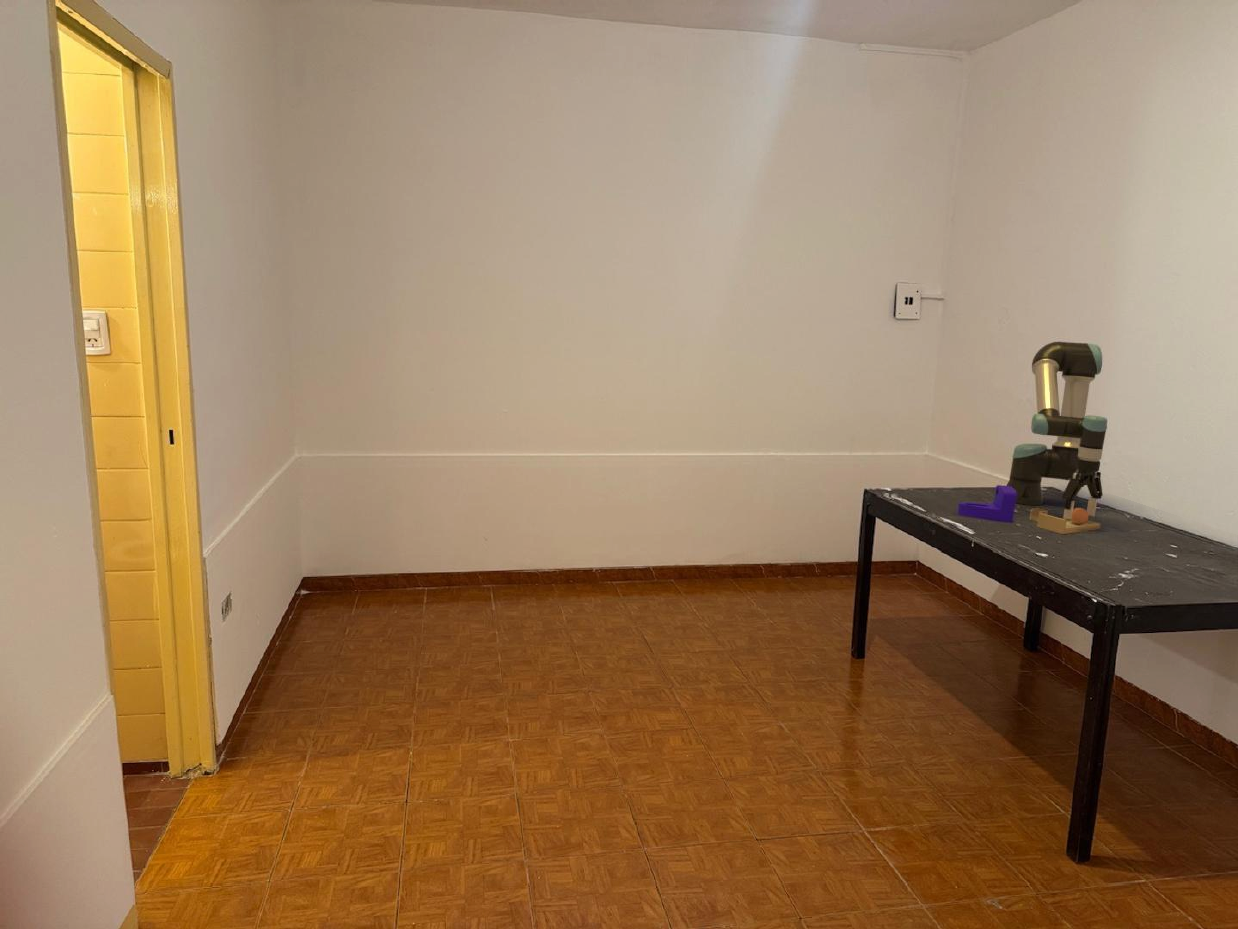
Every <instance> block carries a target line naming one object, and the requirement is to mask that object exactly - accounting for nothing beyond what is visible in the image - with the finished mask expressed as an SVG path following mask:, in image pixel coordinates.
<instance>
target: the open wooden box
mask: <svg viewBox="0 0 1238 929" xmlns="http://www.w3.org/2000/svg"><path fill="white" fill-rule="evenodd" d="M1039 513H1043V514H1047V515H1048V514H1049V513H1048V510H1045V509H1042V508H1039V507H1038V508H1037V507H1036V508H1031V509H1030V513H1029V520H1030V521H1033V522H1037V523H1038V517H1039Z"/></svg>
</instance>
